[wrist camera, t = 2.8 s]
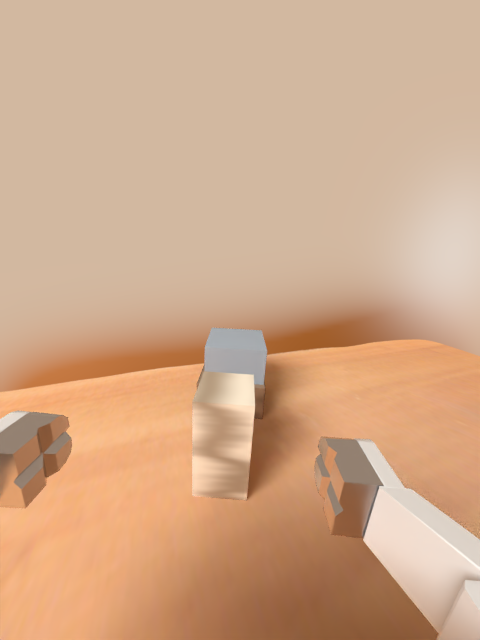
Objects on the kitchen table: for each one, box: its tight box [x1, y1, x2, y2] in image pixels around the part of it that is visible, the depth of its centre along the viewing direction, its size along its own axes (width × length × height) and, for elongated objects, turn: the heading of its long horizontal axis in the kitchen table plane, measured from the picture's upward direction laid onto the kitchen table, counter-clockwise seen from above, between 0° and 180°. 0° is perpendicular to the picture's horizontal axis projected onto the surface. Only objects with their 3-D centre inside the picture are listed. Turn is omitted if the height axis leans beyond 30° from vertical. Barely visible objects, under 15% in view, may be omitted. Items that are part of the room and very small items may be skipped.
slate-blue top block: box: [204, 328, 267, 385], centre depth 35 cm, size 8×8×5 cm
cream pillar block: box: [192, 371, 255, 500], centre depth 22 cm, size 5×5×10 cm
